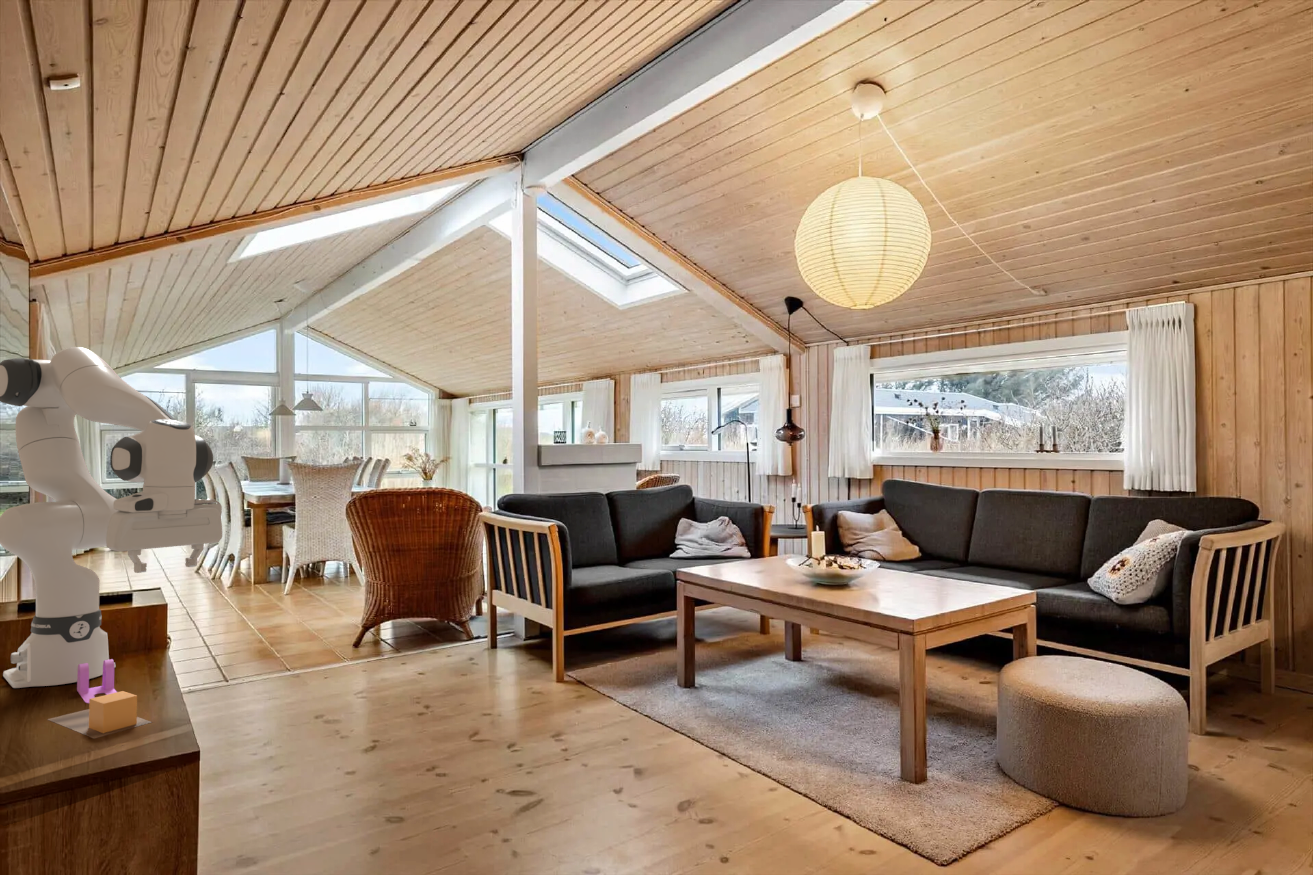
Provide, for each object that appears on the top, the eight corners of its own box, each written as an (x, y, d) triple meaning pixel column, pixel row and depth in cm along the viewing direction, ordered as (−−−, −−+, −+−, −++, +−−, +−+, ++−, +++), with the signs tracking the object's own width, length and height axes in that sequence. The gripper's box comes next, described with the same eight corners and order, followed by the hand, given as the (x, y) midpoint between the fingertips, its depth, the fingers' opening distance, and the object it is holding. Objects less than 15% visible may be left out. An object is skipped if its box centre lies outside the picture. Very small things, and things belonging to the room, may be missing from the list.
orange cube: (88, 727, 131) (89, 698, 131) (122, 718, 135) (122, 691, 135) (103, 733, 128) (103, 703, 128) (136, 724, 133) (137, 695, 133)
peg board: (46, 726, 135) (47, 699, 135) (104, 711, 143) (104, 686, 143) (93, 745, 126) (94, 717, 126) (152, 729, 133) (152, 702, 134)
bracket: (76, 697, 152) (77, 662, 152) (110, 691, 156) (111, 657, 156) (87, 712, 143) (88, 675, 143) (122, 705, 147) (123, 670, 147)
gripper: (213, 497, 160) (211, 561, 160) (103, 501, 143) (100, 574, 143) (229, 499, 157) (227, 564, 157) (119, 503, 140) (116, 577, 139)
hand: (166, 569), depth 150 cm, fingers open, 8 cm apart
